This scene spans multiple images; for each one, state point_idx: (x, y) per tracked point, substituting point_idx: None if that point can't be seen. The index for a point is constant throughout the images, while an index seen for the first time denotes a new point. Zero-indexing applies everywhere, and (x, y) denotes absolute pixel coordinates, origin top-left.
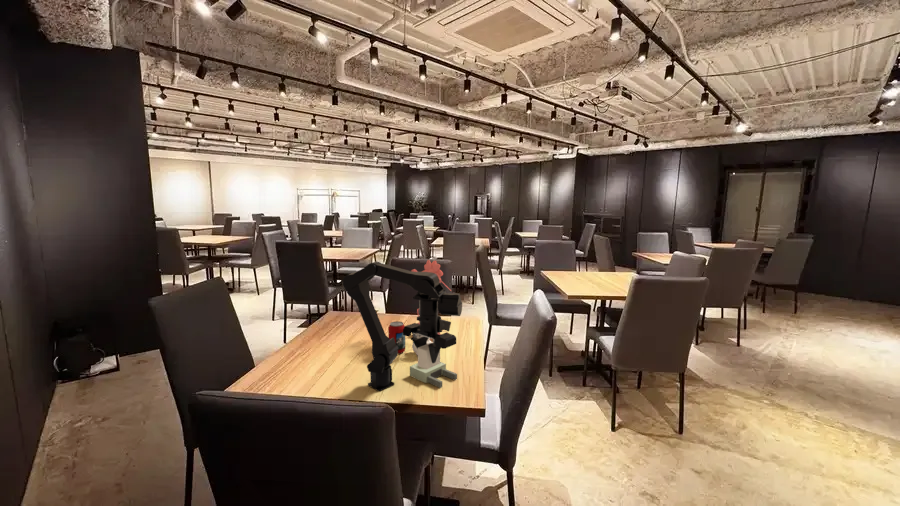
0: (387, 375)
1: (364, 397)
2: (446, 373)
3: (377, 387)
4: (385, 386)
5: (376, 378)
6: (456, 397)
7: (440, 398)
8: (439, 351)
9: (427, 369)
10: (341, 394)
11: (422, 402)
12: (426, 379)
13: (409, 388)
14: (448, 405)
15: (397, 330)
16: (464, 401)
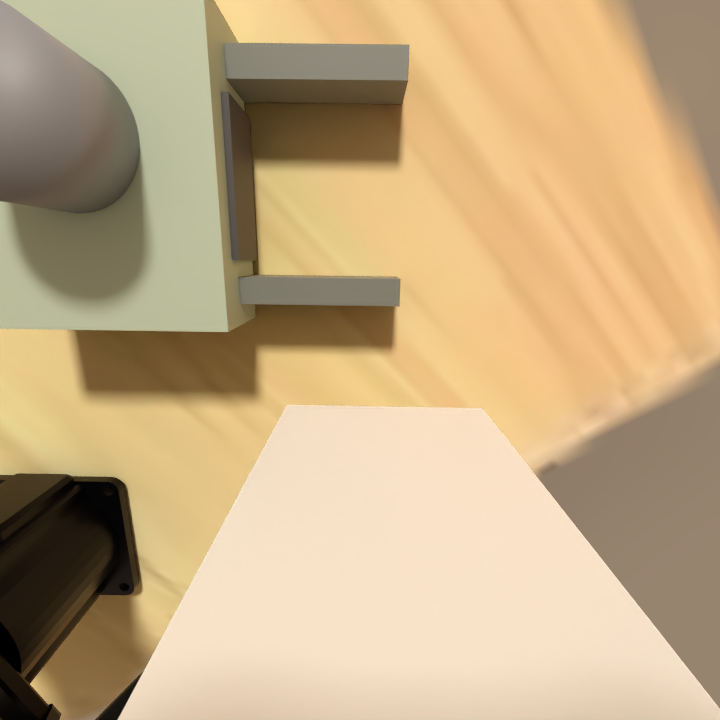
0: (61, 591)
1: (142, 661)
2: (290, 90)
3: (101, 590)
4: (118, 547)
5: (51, 655)
6: (576, 324)
7: (491, 406)
8: (596, 579)
9: (173, 257)
10: None
11: None
12: (247, 312)
13: (234, 446)
14: (587, 434)
15: None
16: (654, 329)
